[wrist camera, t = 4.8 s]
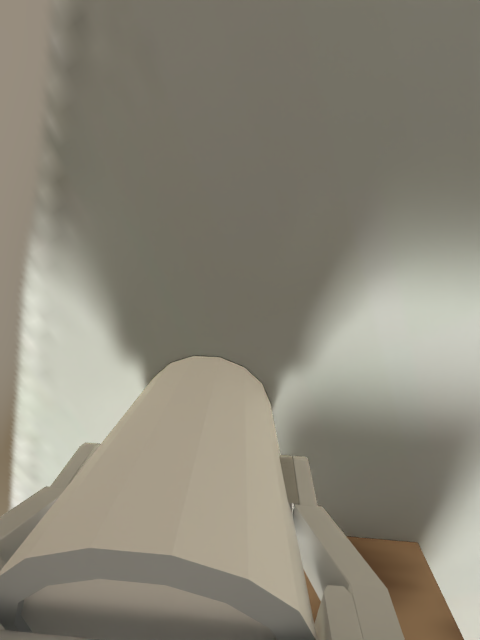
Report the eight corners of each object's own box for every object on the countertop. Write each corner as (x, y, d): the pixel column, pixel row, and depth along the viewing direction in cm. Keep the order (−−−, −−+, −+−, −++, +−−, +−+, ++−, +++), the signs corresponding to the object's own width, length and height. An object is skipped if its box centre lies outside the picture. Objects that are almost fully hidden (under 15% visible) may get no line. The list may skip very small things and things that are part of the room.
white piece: (111, 352, 11) (-97, 561, 4) (275, 332, 10) (307, 552, 4) (158, 465, 14) (69, 698, 7) (291, 457, 13) (326, 712, 6)
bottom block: (414, 536, 15) (482, 678, 11) (373, 614, 19) (409, 742, 15) (243, 521, 16) (238, 651, 11) (238, 600, 20) (232, 720, 15)
